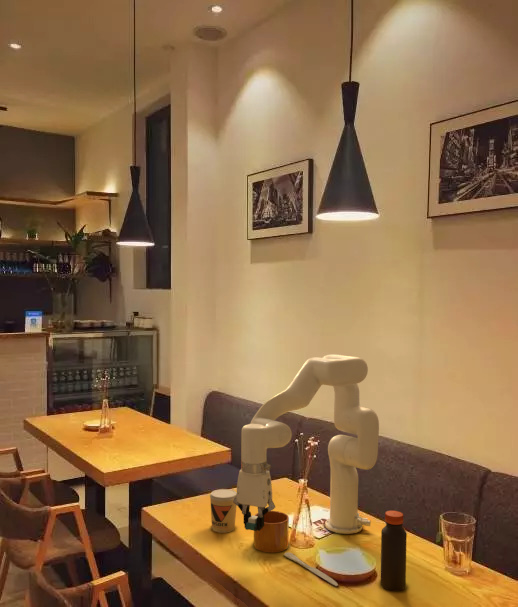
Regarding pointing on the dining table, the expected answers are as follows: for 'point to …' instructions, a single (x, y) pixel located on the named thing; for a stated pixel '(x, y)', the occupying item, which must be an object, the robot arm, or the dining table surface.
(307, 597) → the dining table surface
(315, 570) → the butter knife
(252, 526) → the toy car
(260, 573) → the dining table surface
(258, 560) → the dining table surface
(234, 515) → the coffee cup
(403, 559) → the bottle
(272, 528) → the tumbler
